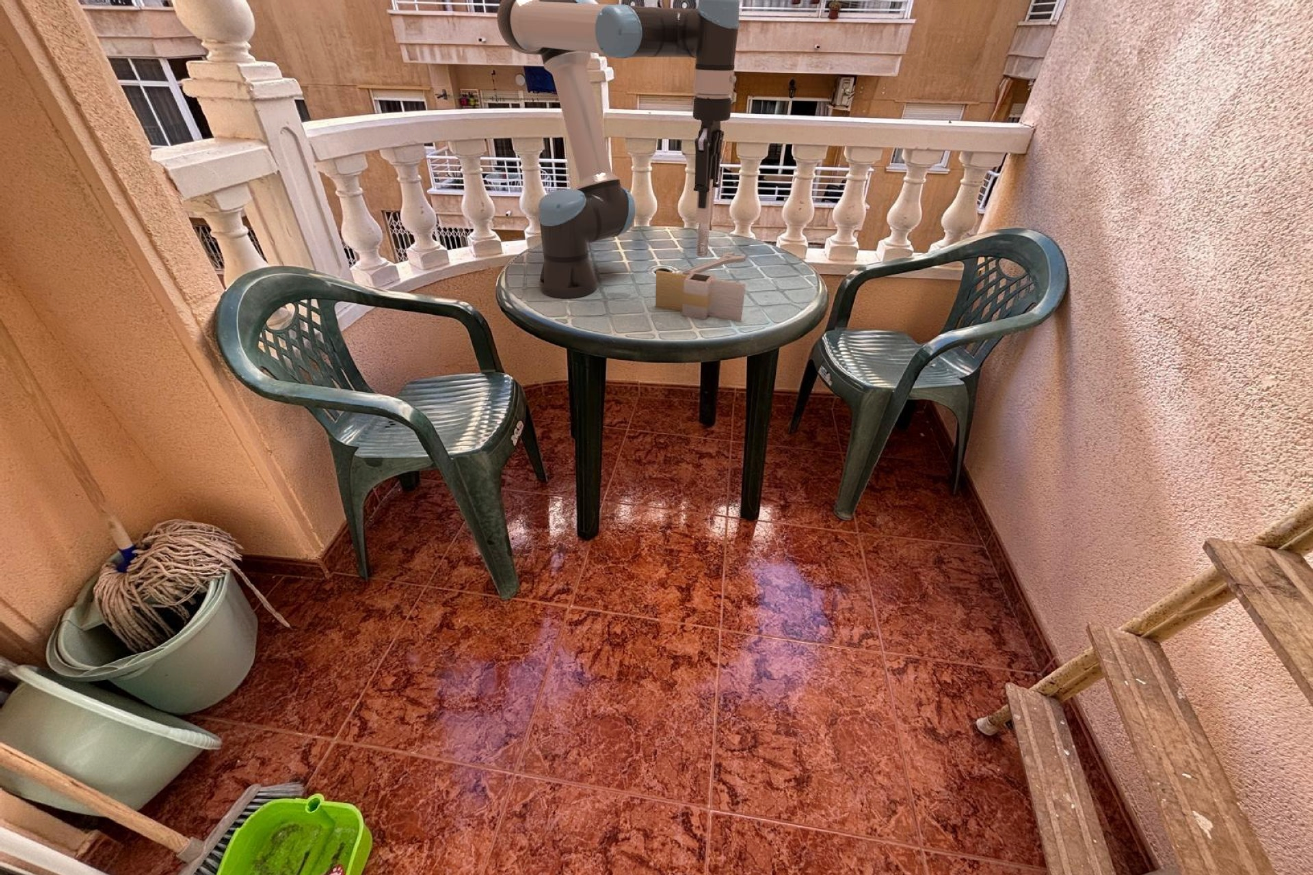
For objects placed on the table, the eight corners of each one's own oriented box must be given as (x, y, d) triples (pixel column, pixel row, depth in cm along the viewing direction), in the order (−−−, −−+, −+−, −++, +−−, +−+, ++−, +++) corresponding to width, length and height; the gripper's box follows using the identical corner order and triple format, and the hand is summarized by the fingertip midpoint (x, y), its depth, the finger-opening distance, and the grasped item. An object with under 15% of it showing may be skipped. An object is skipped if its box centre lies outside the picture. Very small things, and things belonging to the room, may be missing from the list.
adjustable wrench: (687, 279, 151) (687, 273, 150) (672, 272, 155) (672, 266, 154) (748, 261, 164) (749, 255, 163) (733, 255, 168) (734, 249, 167)
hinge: (651, 310, 132) (652, 275, 127) (660, 301, 137) (661, 267, 131) (737, 325, 126) (742, 289, 121) (743, 315, 131) (748, 280, 125)
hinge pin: (695, 255, 122) (699, 180, 113) (698, 252, 124) (703, 177, 114) (705, 257, 122) (711, 181, 112) (708, 253, 123) (714, 178, 114)
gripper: (720, 100, 97) (710, 232, 111) (740, 94, 109) (729, 214, 123) (682, 98, 99) (676, 228, 114) (705, 92, 111) (698, 211, 125)
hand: (704, 221), depth 118 cm, fingers closed on hinge pin, 2 cm apart
